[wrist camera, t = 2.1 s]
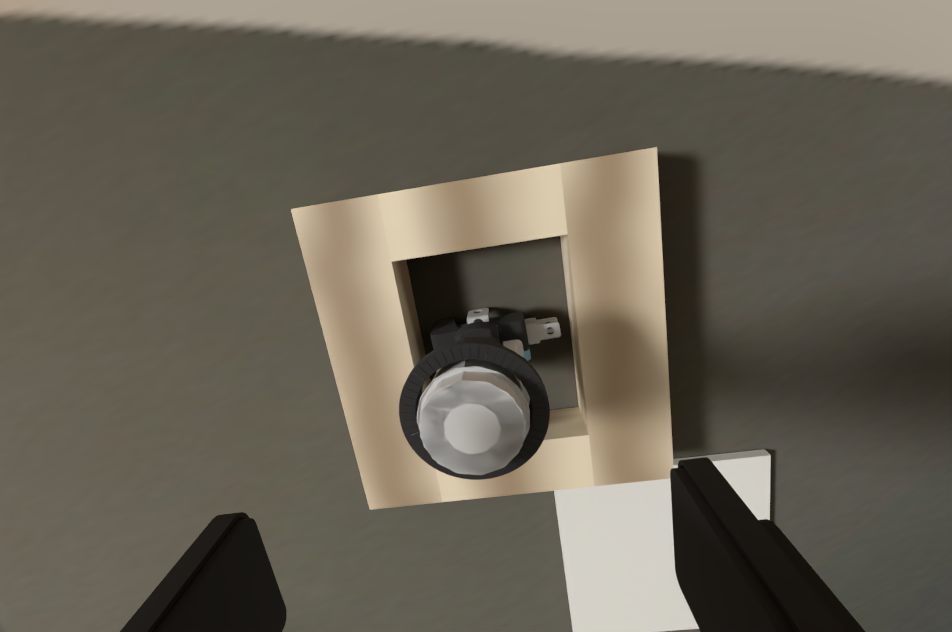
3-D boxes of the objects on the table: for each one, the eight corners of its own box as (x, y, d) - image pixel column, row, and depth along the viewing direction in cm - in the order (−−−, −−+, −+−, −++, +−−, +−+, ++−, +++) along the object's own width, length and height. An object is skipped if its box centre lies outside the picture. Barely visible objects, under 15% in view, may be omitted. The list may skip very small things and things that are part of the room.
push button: (549, 273, 24) (582, 334, 14) (563, 368, 25) (602, 482, 15) (424, 295, 24) (375, 368, 15) (445, 386, 26) (412, 506, 16)
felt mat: (764, 449, 26) (770, 455, 25) (763, 614, 29) (768, 623, 28) (551, 472, 27) (552, 478, 26) (572, 629, 30) (573, 637, 29)
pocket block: (636, 152, 22) (657, 147, 19) (654, 445, 26) (674, 478, 23) (316, 206, 23) (290, 209, 20) (383, 475, 28) (369, 509, 25)
